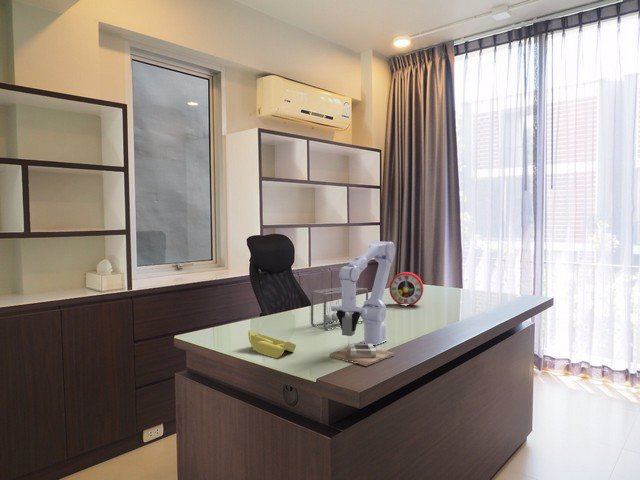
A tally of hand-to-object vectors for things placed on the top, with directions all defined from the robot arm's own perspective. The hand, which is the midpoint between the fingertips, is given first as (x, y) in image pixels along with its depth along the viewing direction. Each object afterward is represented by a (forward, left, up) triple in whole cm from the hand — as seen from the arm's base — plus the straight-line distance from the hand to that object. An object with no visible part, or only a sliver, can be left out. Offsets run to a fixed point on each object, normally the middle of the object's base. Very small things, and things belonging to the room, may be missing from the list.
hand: (348, 330), depth 182 cm
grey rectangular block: (0, 0, -2) cm, 2 cm away
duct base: (+1, +8, -9) cm, 12 cm away
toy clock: (-99, -34, -9) cm, 105 cm away
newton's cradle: (-33, -32, -9) cm, 47 cm away
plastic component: (+21, -23, -9) cm, 32 cm away
